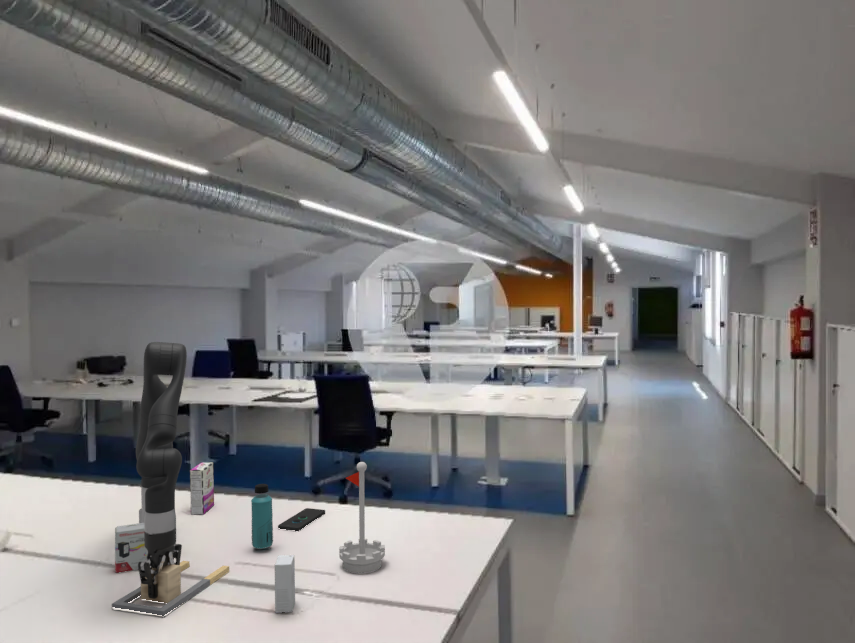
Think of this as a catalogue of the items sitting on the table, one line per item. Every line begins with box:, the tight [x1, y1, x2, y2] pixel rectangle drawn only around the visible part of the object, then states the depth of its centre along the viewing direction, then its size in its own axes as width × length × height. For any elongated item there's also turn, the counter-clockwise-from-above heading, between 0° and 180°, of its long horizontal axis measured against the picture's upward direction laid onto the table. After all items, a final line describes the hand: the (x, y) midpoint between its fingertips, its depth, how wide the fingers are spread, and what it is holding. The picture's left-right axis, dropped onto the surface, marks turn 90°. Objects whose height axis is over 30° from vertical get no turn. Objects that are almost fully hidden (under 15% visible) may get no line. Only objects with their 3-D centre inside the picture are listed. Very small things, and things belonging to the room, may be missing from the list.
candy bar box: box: [189, 461, 215, 516], centre depth 232 cm, size 11×5×16 cm, turn 179°
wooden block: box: [140, 564, 182, 603], centre depth 162 cm, size 8×5×8 cm, turn 74°
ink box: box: [114, 522, 148, 574], centre depth 181 cm, size 9×5×12 cm, turn 118°
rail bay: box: [111, 560, 230, 616], centre depth 167 cm, size 15×28×2 cm, turn 164°
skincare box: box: [274, 554, 296, 614], centre depth 157 cm, size 6×4×12 cm
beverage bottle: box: [250, 483, 274, 549], centre depth 194 cm, size 6×7×20 cm
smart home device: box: [277, 507, 326, 532], centre depth 221 cm, size 8×2×20 cm
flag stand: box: [338, 461, 386, 574], centre depth 182 cm, size 13×13×30 cm
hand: (161, 592), depth 162 cm, fingers open, 5 cm apart
